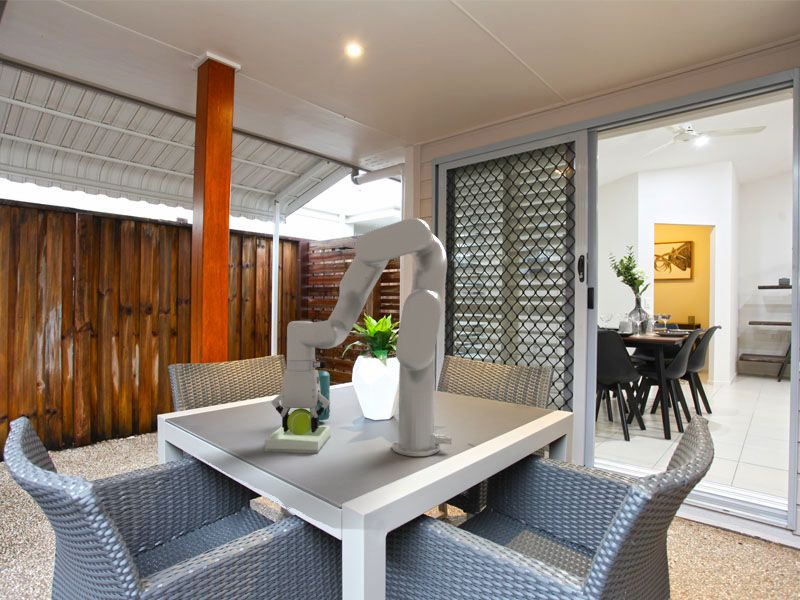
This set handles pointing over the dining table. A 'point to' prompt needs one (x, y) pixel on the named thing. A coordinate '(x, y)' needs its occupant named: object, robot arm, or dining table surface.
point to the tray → (298, 441)
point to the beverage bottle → (324, 390)
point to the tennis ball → (299, 421)
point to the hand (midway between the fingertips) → (300, 430)
